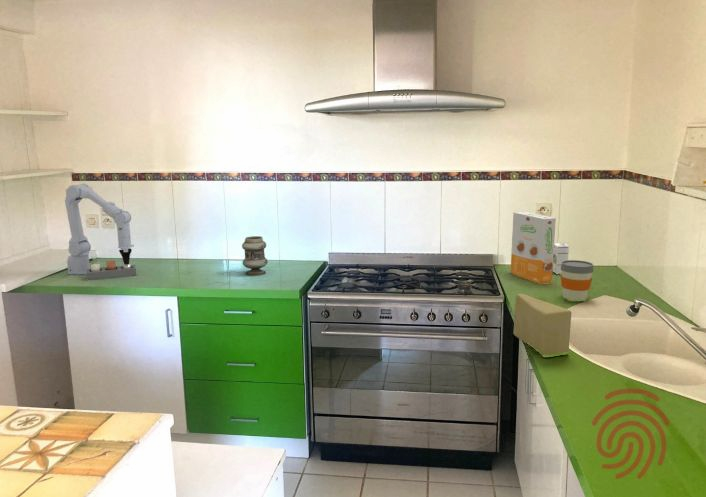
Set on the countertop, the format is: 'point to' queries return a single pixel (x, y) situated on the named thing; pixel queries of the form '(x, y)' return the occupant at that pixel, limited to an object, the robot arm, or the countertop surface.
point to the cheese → (542, 325)
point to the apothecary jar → (254, 255)
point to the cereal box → (533, 246)
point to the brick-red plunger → (111, 265)
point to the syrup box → (559, 256)
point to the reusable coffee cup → (576, 279)
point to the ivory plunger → (95, 267)
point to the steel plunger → (126, 266)
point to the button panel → (111, 273)
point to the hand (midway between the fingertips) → (126, 263)
